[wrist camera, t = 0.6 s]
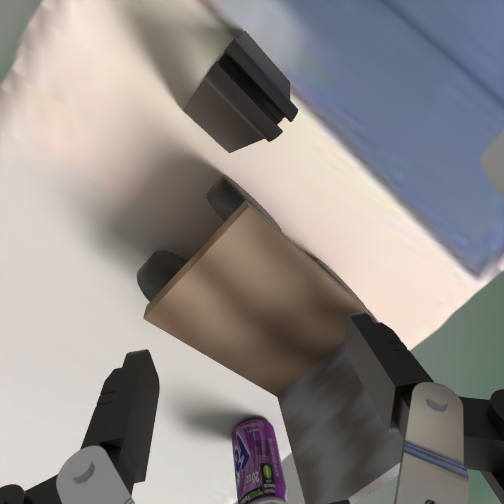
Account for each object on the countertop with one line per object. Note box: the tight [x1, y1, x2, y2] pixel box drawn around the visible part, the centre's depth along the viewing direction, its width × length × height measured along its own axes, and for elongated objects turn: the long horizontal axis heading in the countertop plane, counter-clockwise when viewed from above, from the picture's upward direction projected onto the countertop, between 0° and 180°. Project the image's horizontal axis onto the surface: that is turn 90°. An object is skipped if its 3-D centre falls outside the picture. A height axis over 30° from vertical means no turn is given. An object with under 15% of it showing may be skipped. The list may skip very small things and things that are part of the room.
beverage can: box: [232, 420, 288, 504], centre depth 47 cm, size 7×7×12 cm
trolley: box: [137, 175, 404, 504], centre depth 30 cm, size 14×23×22 cm, turn 46°
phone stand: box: [184, 31, 298, 153], centre depth 26 cm, size 9×6×12 cm, turn 137°
